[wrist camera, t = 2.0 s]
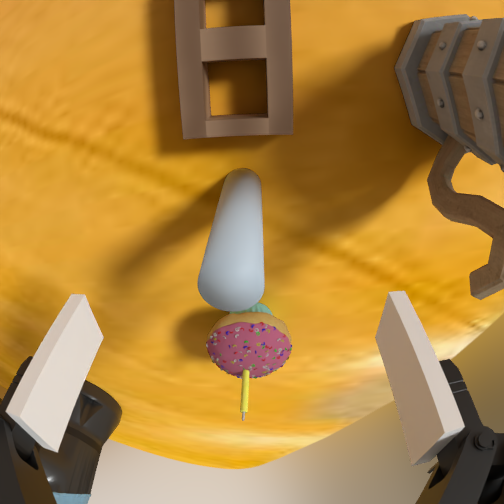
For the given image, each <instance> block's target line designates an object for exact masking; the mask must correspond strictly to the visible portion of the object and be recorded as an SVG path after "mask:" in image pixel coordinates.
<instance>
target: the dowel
mask: <svg viewBox="0 0 504 504" xmlns="http://www.w3.org/2000/svg"><path fill="white" fill-rule="evenodd" d="M198 289H199V292H200V294H201V296H202V297H203V299H204V300H205V301H206V302H207V303H208V304H210V305H211V306H213V307H215V308H217V309H220V310H224V311H232V312H234V311H242V310H245V309H248V308H250V307H252V306H253V305H255V304H256V303H257V302H258V301H259V300H260V299H261V297H262V295H263V293H264V254H263V223H262V194H261V181H260V178H259V177H258V175H257V174H256V173H255V172H253V171H252V170H249V169H246V168H239V169H235V170H233V171H231V172H230V173H229V174H228V175H227V177H226V178H225V181H224V185H223V188H222V192H221V195H220V199H219V202H218V206H217V210H216V213H215V217H214V221H213V224H212V228H211V232H210V235H209V239H208V243H207V247H206V250H205V254H204V258H203V262H202V266H201V270H200V274H199V278H198Z"/></svg>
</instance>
